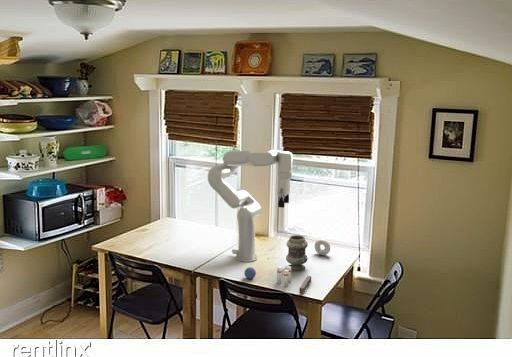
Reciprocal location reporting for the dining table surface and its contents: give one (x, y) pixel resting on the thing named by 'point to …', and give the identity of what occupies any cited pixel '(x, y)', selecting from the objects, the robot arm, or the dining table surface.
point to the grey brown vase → (296, 252)
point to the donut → (326, 245)
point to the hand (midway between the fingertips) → (283, 205)
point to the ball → (250, 273)
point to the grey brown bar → (305, 284)
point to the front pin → (279, 275)
